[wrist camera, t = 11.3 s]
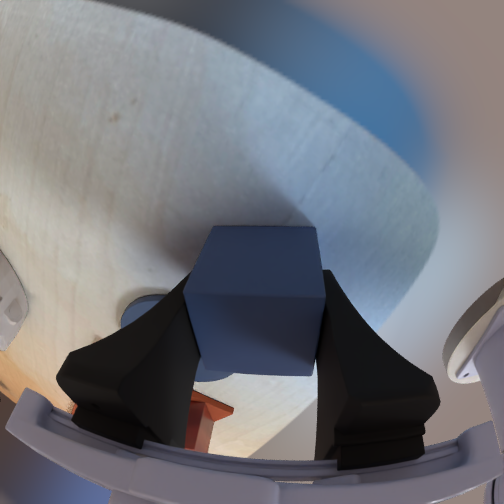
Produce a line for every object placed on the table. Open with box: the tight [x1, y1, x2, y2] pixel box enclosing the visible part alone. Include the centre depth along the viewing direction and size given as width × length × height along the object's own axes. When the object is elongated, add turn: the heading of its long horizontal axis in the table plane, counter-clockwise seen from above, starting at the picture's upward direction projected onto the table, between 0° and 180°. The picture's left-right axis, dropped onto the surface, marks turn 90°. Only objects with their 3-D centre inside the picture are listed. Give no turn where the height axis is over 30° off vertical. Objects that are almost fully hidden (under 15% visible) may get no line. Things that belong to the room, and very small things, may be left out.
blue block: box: [183, 226, 326, 376], centre depth 11 cm, size 4×4×4 cm
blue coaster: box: [121, 295, 233, 382], centre depth 17 cm, size 8×8×1 cm
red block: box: [185, 401, 214, 453], centre depth 20 cm, size 4×4×4 cm
